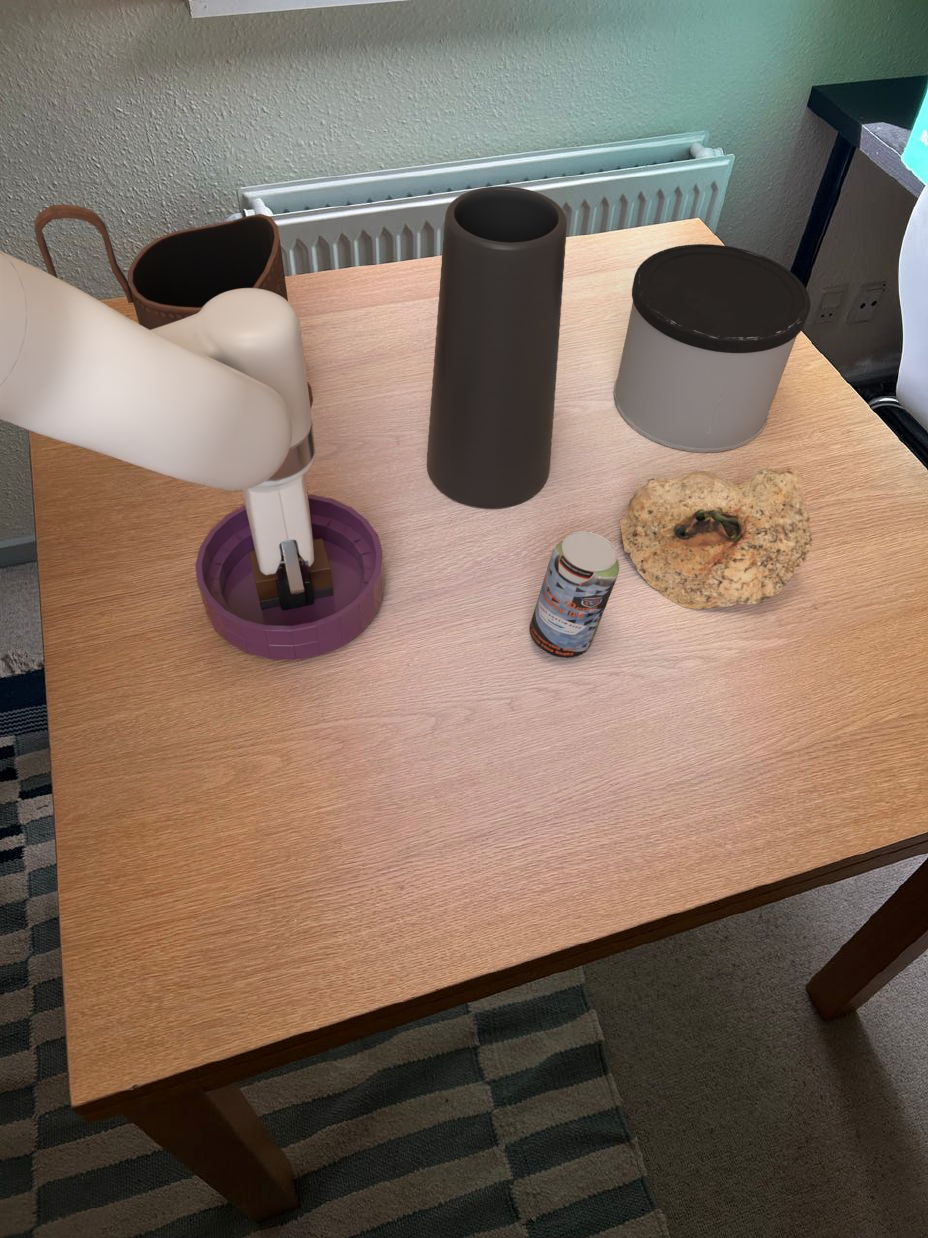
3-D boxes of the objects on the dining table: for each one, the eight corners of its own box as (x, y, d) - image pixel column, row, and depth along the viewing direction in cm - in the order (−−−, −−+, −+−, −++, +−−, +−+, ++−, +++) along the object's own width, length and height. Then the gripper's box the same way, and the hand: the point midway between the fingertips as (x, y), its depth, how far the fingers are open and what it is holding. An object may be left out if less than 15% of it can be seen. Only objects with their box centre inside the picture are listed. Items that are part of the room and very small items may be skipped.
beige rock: (645, 641, 95) (633, 614, 88) (625, 521, 101) (613, 487, 94) (827, 608, 90) (828, 576, 84) (795, 483, 96) (794, 444, 89)
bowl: (315, 693, 82) (309, 660, 78) (168, 614, 87) (156, 580, 83) (416, 571, 92) (416, 536, 88) (279, 506, 97) (273, 471, 93)
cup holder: (329, 436, 104) (307, 225, 84) (111, 479, 98) (33, 264, 79) (293, 342, 115) (266, 136, 95) (95, 377, 109) (22, 165, 90)
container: (665, 471, 102) (696, 357, 90) (583, 374, 113) (602, 261, 101) (801, 429, 107) (847, 317, 96) (711, 341, 118) (743, 229, 106)
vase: (537, 519, 97) (572, 267, 74) (413, 496, 98) (409, 242, 76) (558, 437, 105) (594, 187, 83) (442, 417, 107) (447, 167, 84)
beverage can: (515, 640, 87) (526, 555, 77) (563, 598, 90) (579, 511, 81) (566, 678, 84) (584, 595, 75) (614, 633, 88) (637, 548, 78)
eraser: (261, 609, 87) (255, 582, 84) (255, 579, 90) (249, 551, 86) (333, 595, 89) (330, 568, 86) (325, 565, 91) (322, 538, 88)
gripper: (209, 386, 79) (242, 533, 93) (235, 521, 69) (268, 662, 83) (295, 373, 80) (315, 520, 95) (333, 503, 71) (349, 645, 85)
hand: (293, 585), depth 89 cm, fingers closed on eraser, 4 cm apart
